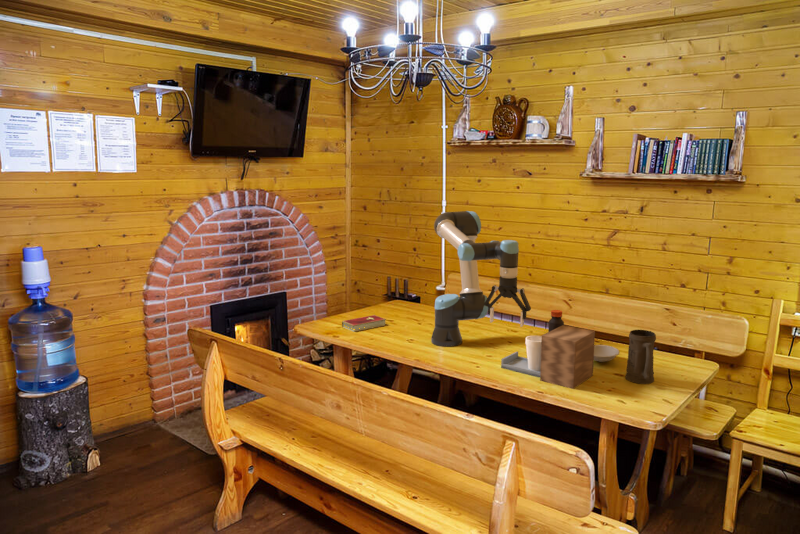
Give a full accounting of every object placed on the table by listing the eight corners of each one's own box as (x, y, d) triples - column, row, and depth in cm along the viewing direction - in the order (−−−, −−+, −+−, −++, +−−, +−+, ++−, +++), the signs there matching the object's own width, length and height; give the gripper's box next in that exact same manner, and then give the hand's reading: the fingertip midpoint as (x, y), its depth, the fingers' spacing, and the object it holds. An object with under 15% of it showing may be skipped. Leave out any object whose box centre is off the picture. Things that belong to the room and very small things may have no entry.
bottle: (554, 356, 263) (556, 313, 260) (544, 352, 269) (545, 310, 266) (565, 353, 266) (567, 311, 263) (555, 349, 272) (557, 308, 269)
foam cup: (547, 372, 240) (548, 342, 238) (524, 371, 242) (525, 341, 239) (546, 365, 249) (547, 335, 247) (524, 363, 251) (525, 334, 248)
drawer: (501, 367, 249) (501, 358, 248) (516, 360, 259) (516, 351, 258) (543, 378, 236) (544, 369, 235) (558, 369, 246) (558, 360, 245)
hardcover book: (342, 327, 315) (341, 320, 314) (374, 321, 327) (374, 314, 326) (353, 332, 305) (353, 325, 304) (386, 326, 317) (386, 318, 316)
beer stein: (619, 374, 240) (624, 328, 235) (644, 373, 241) (649, 327, 236) (637, 390, 225) (642, 342, 220) (664, 389, 226) (669, 341, 221)
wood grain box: (540, 380, 234) (541, 335, 231) (561, 367, 248) (562, 325, 245) (573, 388, 225) (575, 341, 222) (592, 375, 239) (595, 331, 236)
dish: (612, 370, 245) (613, 359, 244) (579, 364, 252) (579, 353, 252) (623, 358, 259) (623, 348, 258) (590, 353, 267) (591, 342, 266)
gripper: (477, 275, 250) (476, 322, 255) (535, 281, 239) (532, 330, 244) (483, 271, 257) (482, 317, 261) (539, 277, 246) (537, 325, 250)
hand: (506, 323), depth 252 cm, fingers open, 13 cm apart
